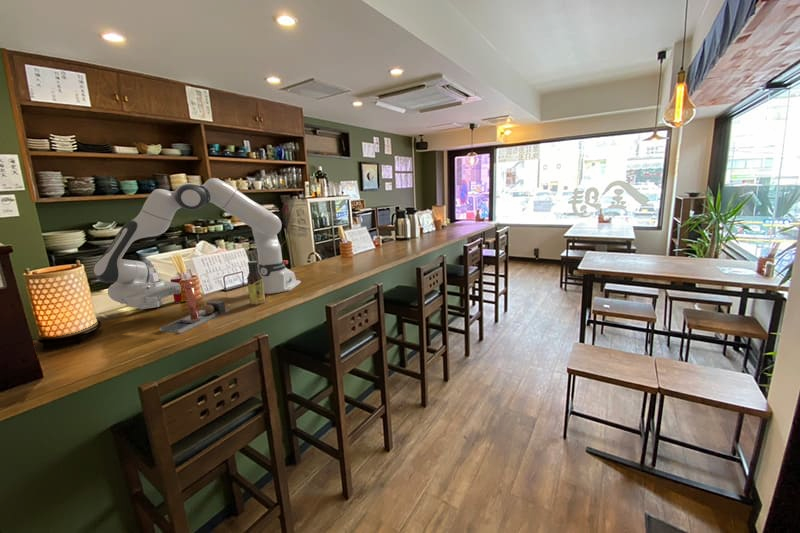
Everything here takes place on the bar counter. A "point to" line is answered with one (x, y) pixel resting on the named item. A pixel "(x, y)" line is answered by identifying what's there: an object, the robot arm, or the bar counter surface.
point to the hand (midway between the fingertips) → (169, 295)
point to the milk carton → (152, 278)
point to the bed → (182, 326)
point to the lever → (192, 304)
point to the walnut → (208, 309)
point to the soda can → (178, 296)
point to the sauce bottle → (255, 284)
